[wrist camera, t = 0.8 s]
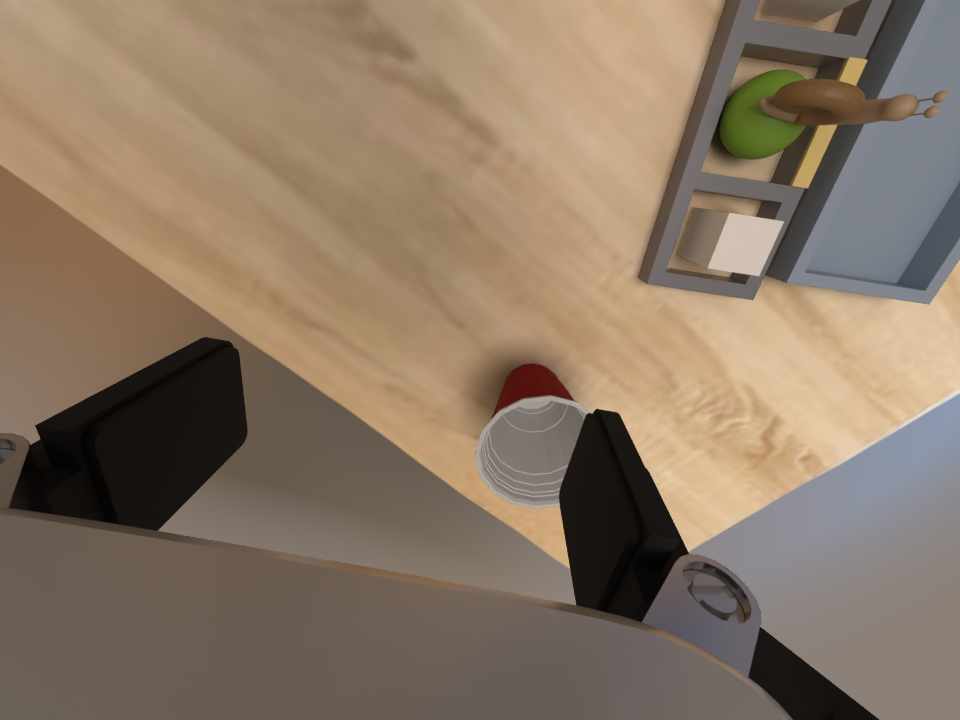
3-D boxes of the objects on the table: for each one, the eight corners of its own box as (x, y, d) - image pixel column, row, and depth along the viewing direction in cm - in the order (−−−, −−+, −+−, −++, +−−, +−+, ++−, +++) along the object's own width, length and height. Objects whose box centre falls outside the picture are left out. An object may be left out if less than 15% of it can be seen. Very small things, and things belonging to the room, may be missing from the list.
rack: (765, -124, 25) (795, -159, 22) (911, -101, 25) (957, -133, 22) (638, 277, 36) (648, 284, 33) (737, 292, 36) (755, 301, 33)
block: (692, 207, 33) (729, 213, 28) (738, 214, 33) (784, 221, 28) (676, 254, 35) (707, 268, 29) (719, 260, 35) (759, 276, 29)
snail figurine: (771, 169, 31) (910, 164, 21) (695, 153, 31) (795, 140, 20) (807, 90, 29) (986, 37, 18) (725, 73, 29) (856, 9, 18)
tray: (911, -56, 25) (968, -89, 22) (1088, -28, 25) (1171, -57, 22) (761, 273, 35) (786, 282, 32) (890, 293, 35) (929, 304, 32)
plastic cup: (604, 392, 41) (640, 468, 30) (525, 443, 45) (531, 528, 34) (542, 318, 38) (556, 374, 27) (462, 380, 41) (446, 451, 31)
